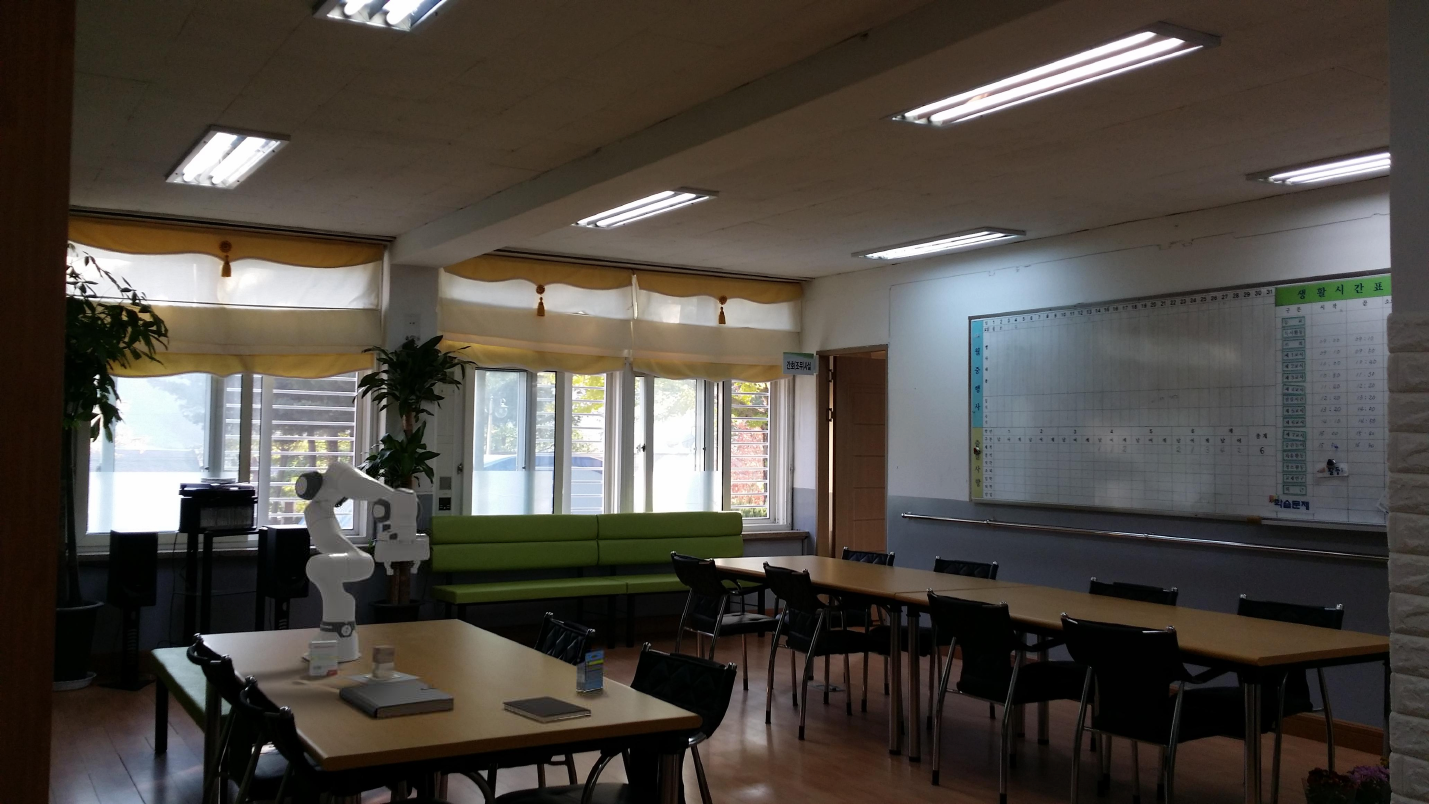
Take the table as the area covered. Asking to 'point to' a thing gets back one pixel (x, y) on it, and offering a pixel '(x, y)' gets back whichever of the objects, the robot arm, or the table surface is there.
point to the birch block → (382, 670)
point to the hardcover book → (545, 708)
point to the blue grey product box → (590, 672)
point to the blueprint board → (370, 680)
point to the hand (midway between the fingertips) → (402, 573)
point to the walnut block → (383, 654)
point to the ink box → (323, 658)
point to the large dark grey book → (397, 698)
